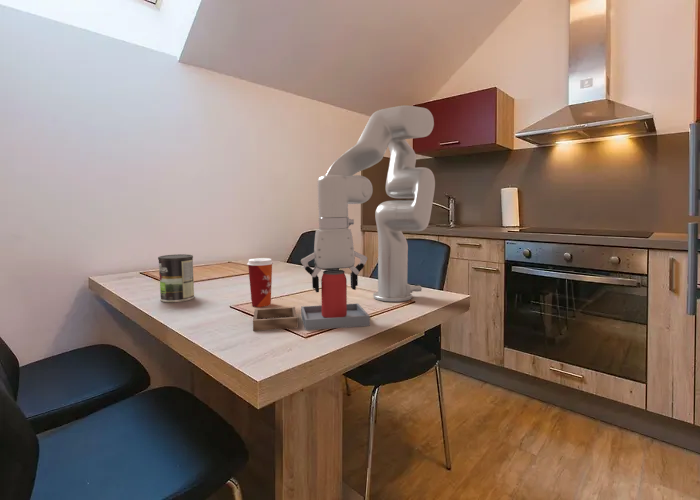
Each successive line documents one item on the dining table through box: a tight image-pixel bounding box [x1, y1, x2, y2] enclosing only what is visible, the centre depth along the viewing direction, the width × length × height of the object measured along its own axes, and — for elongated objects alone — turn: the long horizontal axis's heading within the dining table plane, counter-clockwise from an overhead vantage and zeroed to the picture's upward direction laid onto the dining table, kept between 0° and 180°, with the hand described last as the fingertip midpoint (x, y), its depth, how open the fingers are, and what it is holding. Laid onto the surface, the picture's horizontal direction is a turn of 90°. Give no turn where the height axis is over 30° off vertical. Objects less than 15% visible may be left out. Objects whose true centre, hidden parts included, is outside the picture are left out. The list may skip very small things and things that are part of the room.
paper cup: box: [246, 257, 274, 308], centre depth 114 cm, size 8×8×14 cm
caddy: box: [252, 306, 299, 332], centre depth 96 cm, size 11×11×2 cm
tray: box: [300, 303, 371, 331], centre depth 98 cm, size 16×13×2 cm
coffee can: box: [157, 253, 195, 303], centre depth 122 cm, size 10×10×14 cm
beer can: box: [320, 269, 348, 318], centre depth 98 cm, size 7×7×12 cm
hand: (335, 289), depth 98 cm, fingers open, 9 cm apart
